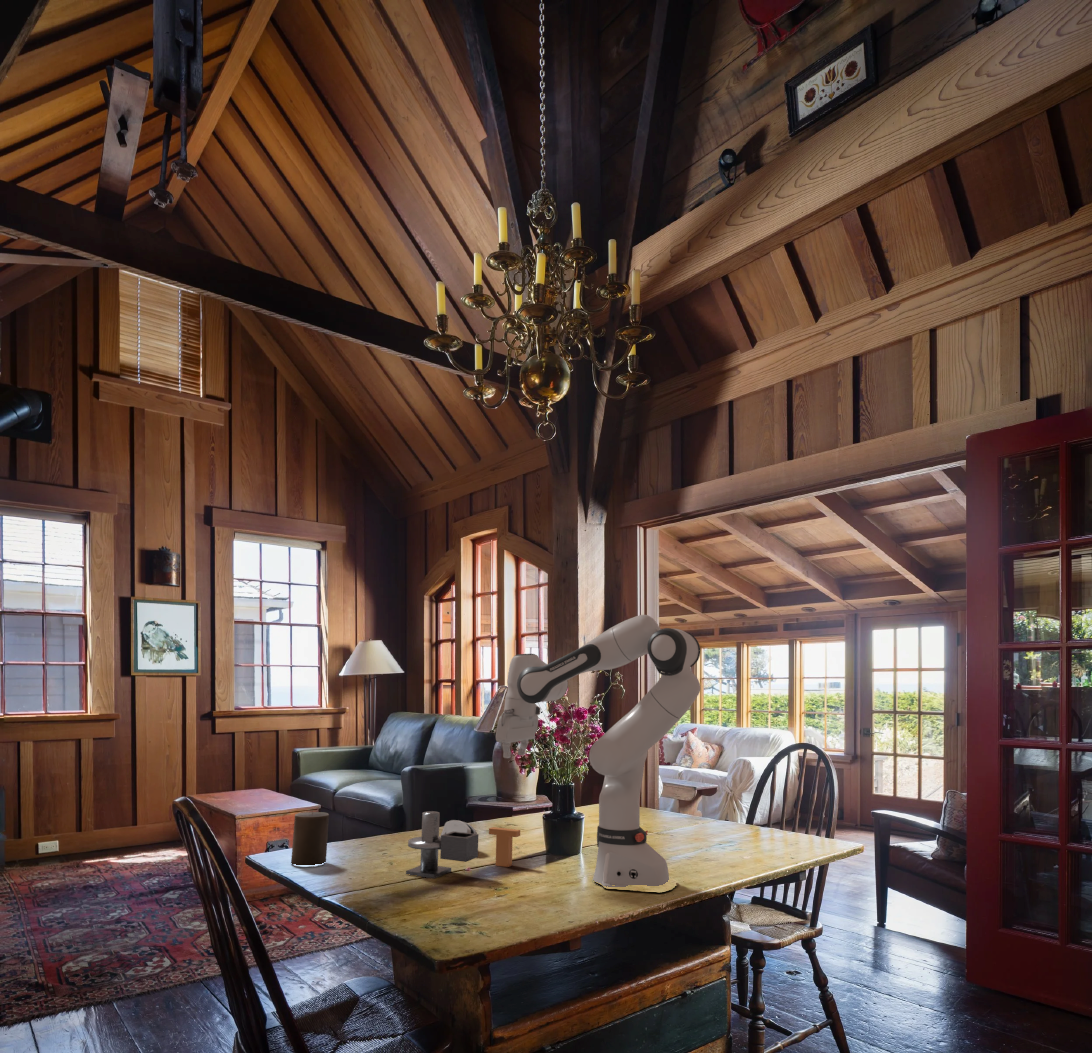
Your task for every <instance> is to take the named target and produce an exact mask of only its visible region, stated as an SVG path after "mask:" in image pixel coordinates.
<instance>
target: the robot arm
mask: <svg viewBox="0 0 1092 1053" xmlns="http://www.w3.org/2000/svg"><path fill="white" fill-rule="evenodd" d="M646 655H648V656H649V658H650V660H651V662H652V663H653V665H654V666H655V668H656V670H657V672H658V674H660V675H661V676H660V678H659V680H658V681H657V682H656V683H655V684H654V685H653V686H652V687H651V688H650V689H649V691H648V692H647V693H646V694H645V695H644V696H643V697H642V698H641V699H640V700H639V701H638V702H637V703H636V705H635V706H634V707H632V709H631V710H630V711H628V712H627V713H626V714H625V715H623V717H621V719H619V720H618V721H617V722H616V723H614V724H613V725H612V726H611V727H610V728H609V729H608V730H607V731H606V732H604V734H602V736H600V737H599V738H598V739H597V740H596V741H595V742H594V743H593V744H592V746H591V747H590V749H589V754H588V759H589V763H590V765H591V767H592V769H593V770H594V771H595V772H597V773H598V774H599V775H602V776H604V779H603V784H602V788H601V791H600V793H599V797H598V825H597V830H596V844H597V856H596V862H595V863H596V864H595V868H594V874H593V877H592V881H593V880H594V881H595V882H598V883H601V884H602V885H603V886H606V887H607V886H608V887H626V886H628V885H647V886H659V885H663V884H665V883H666V882H668V880H669V877H670V874H669V867H668V864H667V860H666V859H665V858H664V857H663V856H662V855H661V854H660V853H659V852H657V851H656V850H655V849H654V848H653V847H652V846H651V845H650V844H649V843H647V836H648V835H649V834H648V830H644V829H643V828H642V827H641V826H640V823H641V822H640V811H641V810H640V804H641V803H640V802H641V801H640V800H641V798H640V797H641V790H642V783H643V778H644V771H645V763H646V761H647V757H648V753H649V752H648V751H649V750H650V749H651V748H652V747H654V745H656V743H658V742H659V741H660V740H662V739H663V738H664V737H665V735H667V734H668V733H669V732H670V730H672V728H673V727H674V726H675V725H676V724H677V723H678V722H679V721H680V720H681V719H682V717H684V715H685V714H686V713H687V712H688V711H689V709H690V708H691V707H692V705H693V703H694V702H695V701H696V700H697V697H698V696H699V694H700V692H701V683H700V681H699V678H698V677H697V676H696V675H695V674H694V672H693V671H692V669H691V668H692V667H693V666H695V664H696V663H697V662H698V661H699V659H700V656H701V645H700V643H699V641H698V640H697V638H696V637H695V636H694V635H693V634H692V633H690V632H687V631H684V630H682V629H679V628H670V627H665V628H664V627H663V628H660V626H659V624H658V623H657V621H656V620H655V619H654V618H653V617H652V616H650V615H647V614H639V615H636V616H634V617H630V618H627V619H625V620H623V621H622V622H619V623H617V624H615V625H614V626H612V627H610V628H608V629H607V630H605V631H603V632H602V633H600V634H599V635H598V636H596V637H594V638H593V639H591V640H589V641H588V642H587V643H585V644H584V645H582V646H580V647H578V648H577V649H576V650H573V651H571V652H569V653H568V654H566V655H564V656H562V657H560V658H557V659H556V660H554V661H551V662H549V663H546V662H545V661H543V660H542V659H541V658H540V657H539V656H538V655H537V654H535V653H520V654H518V653H517V654H515V655H513V657H512V658H511V660H510V664H509V667H508V672H507V680H506V681H507V682H506V683H507V691H506V694H505V697H504V707H503V713H501V715H500V716H499V719H498V721H497V726H496V731H495V732H496V733H495V741H496V742H497V743H502V744H501V746H502V751H503V754H502V757H503V758H504V759H510V758H511V757H512V751H511V746H512V743H515V742H516V743H517V742H520V745H519V748H517V755H518V756H525V755H526V750H527V747H528V745H529V740H533V739H535V738H536V736H535V733H536V732H538V727H539V716H540V715H541V712H542V711H541V709H542V708H541V707H540V706H539V705H538V703H542V702H543V703H544V702H555V701H558V700H560V699H562V698H563V697H565V696H566V694H567V691H568V687H569V680H571V679H572V678H574V677H576V676H578V675H581V674H584V673H587V672H588V673H589V672H593V671H608V670H614V669H617V668H621V667H623V666H625V665H628V664H630V663H632V662H633V661H636V660H637V659H640V658H641V657H642V656H646ZM612 885H615V886H612Z"/></svg>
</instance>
